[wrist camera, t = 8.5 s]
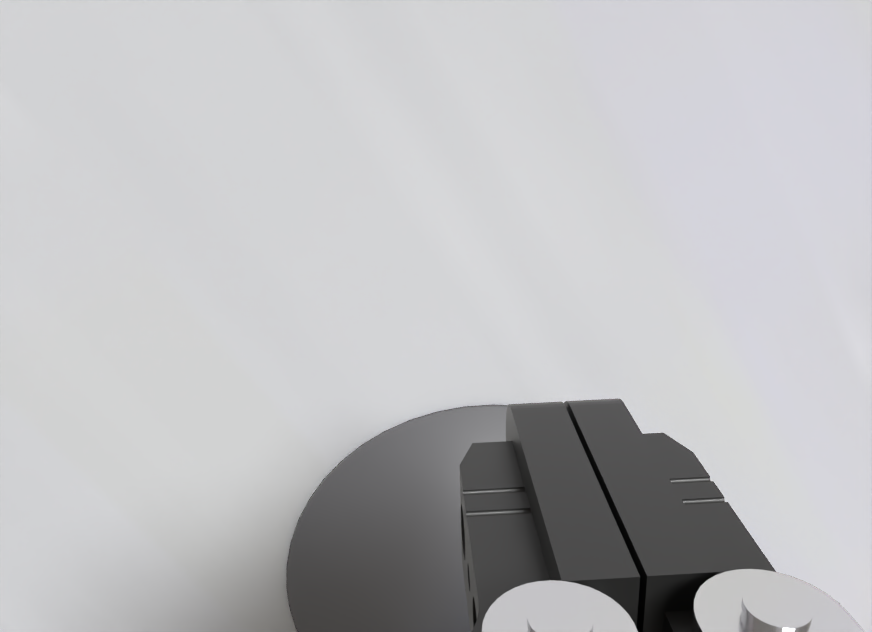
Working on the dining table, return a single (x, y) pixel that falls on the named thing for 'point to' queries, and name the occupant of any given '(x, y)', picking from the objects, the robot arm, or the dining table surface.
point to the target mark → (390, 531)
